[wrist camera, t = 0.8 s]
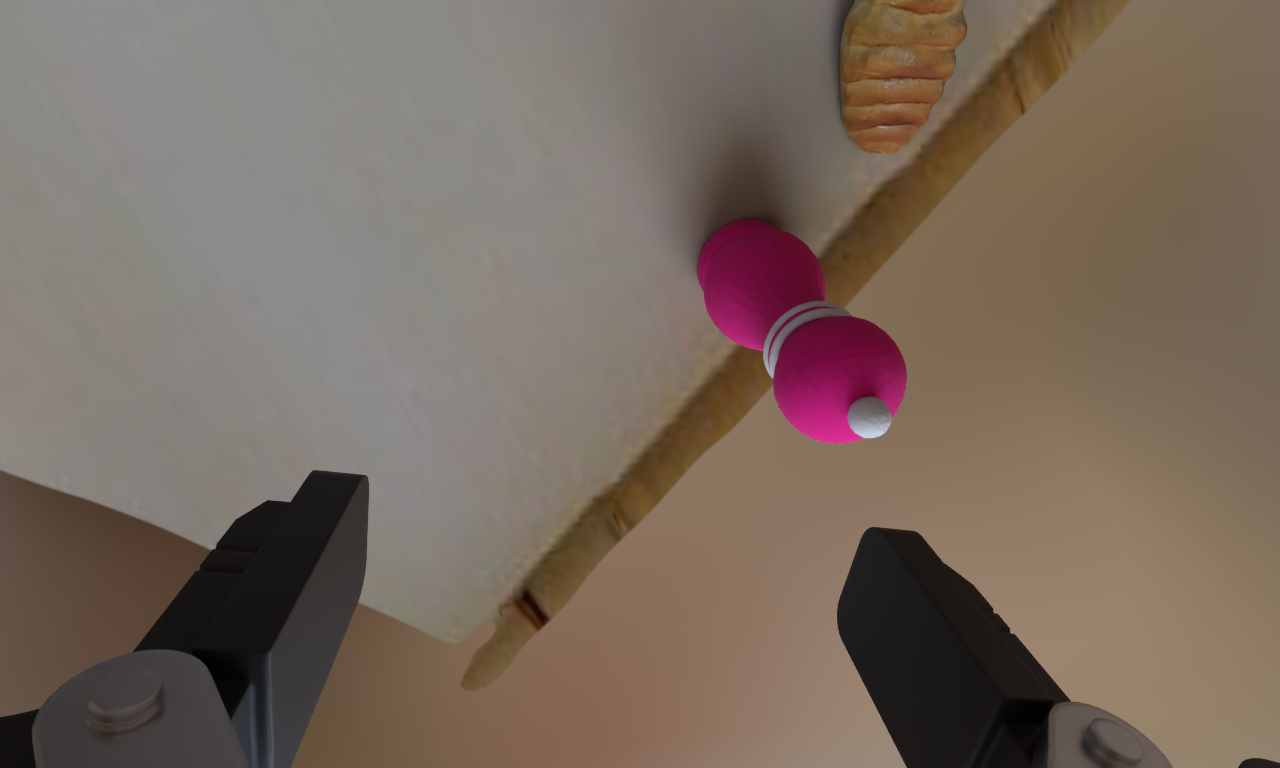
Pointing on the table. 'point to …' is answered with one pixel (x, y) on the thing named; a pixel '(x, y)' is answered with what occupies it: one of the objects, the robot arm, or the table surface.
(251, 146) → the table surface
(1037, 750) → the robot arm
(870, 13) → the pastry
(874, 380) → the pepper mill
